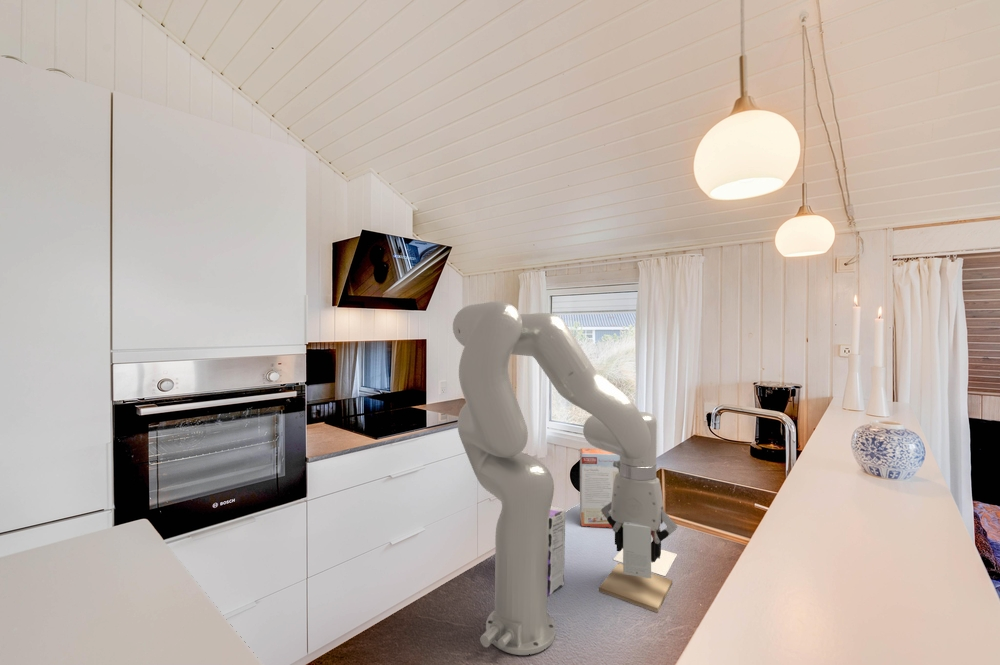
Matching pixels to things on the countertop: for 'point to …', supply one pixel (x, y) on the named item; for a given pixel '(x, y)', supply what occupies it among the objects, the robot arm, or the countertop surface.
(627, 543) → the small box
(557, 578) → the candy box
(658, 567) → the card
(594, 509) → the cracker box
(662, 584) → the coaster
